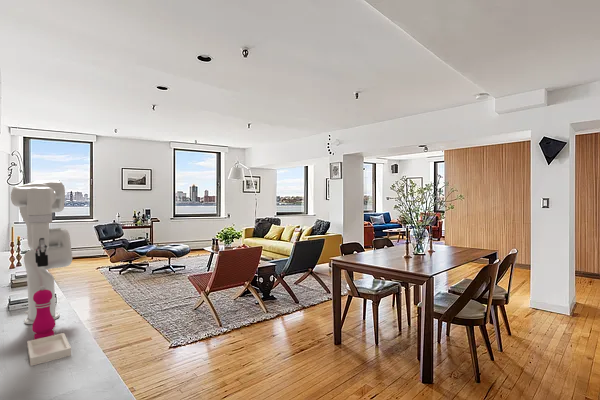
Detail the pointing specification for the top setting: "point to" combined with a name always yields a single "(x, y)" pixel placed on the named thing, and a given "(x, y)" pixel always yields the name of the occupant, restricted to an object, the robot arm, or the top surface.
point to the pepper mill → (43, 314)
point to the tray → (48, 349)
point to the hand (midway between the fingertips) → (41, 264)
